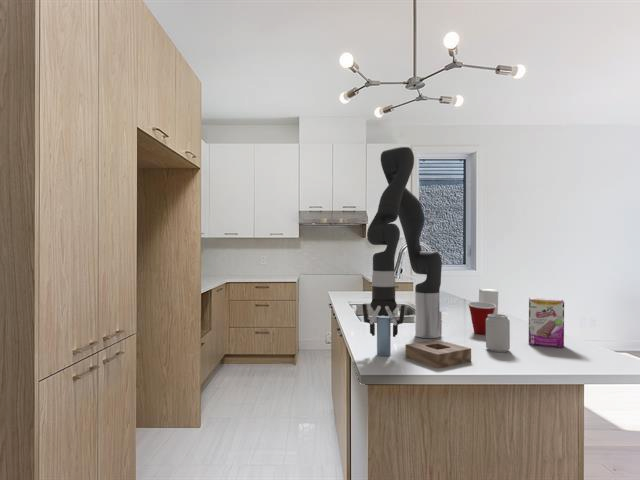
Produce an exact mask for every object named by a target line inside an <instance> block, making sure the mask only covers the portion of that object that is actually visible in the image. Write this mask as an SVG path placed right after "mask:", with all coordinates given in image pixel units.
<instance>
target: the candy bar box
mask: <svg viewBox="0 0 640 480" xmlns="http://www.w3.org/2000/svg"><path fill="white" fill-rule="evenodd" d="M528 345H529V346H539V347H551V348H559V349H560V348H562V349H563V348H564V347H565V301H564V300H563V299H555V298H538V297H528Z"/></svg>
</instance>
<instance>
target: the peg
mask: <svg viewBox="0 0 640 480" xmlns="http://www.w3.org/2000/svg"><path fill="white" fill-rule="evenodd" d="M391 322H392V320H391V319H390V317H389V316H377V317H376V355H377V356H378V357H390V356H392V355H391V354H392V353H391V349H392V347H391V345H392V344H391V342H392V341H391V340H392V339H391V335H392V334H391V333H392V332H391Z"/></svg>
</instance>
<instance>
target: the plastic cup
mask: <svg viewBox="0 0 640 480" xmlns="http://www.w3.org/2000/svg"><path fill="white" fill-rule="evenodd" d="M467 305H468V308H469V312H470V317H471V323H472V328H473V333H474V334H477V335H484V336H486V318H487V317H488V315H489V314H493V313H494V309H495V308H496V305H495V304H492V303H487V302H479V301H469V302H468V303H467Z"/></svg>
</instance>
